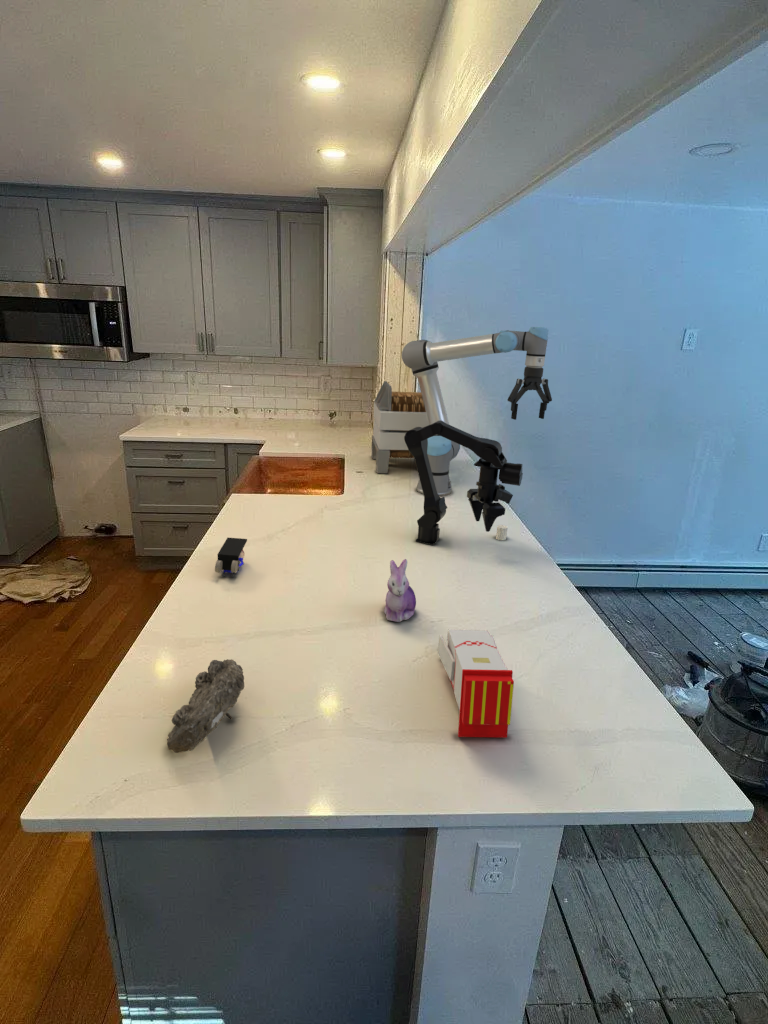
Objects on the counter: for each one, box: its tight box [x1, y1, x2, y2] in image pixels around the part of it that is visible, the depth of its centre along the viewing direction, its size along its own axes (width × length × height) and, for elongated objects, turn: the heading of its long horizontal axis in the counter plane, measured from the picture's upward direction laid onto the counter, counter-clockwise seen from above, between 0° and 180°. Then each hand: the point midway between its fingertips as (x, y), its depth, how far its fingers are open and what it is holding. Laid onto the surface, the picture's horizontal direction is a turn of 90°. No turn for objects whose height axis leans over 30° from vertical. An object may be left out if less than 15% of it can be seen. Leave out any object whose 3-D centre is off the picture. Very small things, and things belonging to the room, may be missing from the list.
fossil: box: [166, 658, 245, 754], centre depth 106 cm, size 22×10×15 cm
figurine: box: [384, 558, 417, 623], centre depth 145 cm, size 9×10×15 cm
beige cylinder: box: [495, 524, 508, 541], centre depth 199 cm, size 4×4×4 cm
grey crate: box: [370, 380, 429, 474], centre depth 281 cm, size 34×33×41 cm
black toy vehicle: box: [214, 537, 248, 578], centre depth 166 cm, size 7×8×15 cm
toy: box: [437, 628, 515, 738], centre depth 117 cm, size 12×13×30 cm
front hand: (482, 526), depth 186 cm, fingers open, 9 cm apart
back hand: (527, 418), depth 238 cm, fingers open, 13 cm apart
